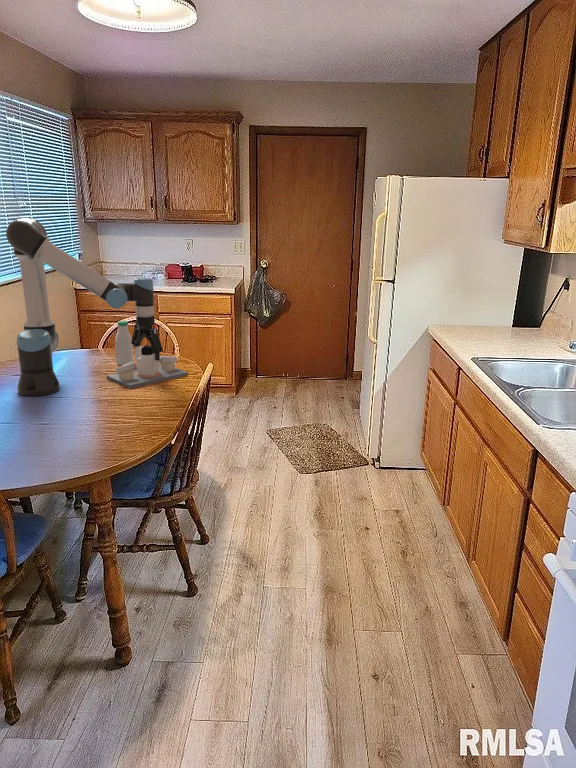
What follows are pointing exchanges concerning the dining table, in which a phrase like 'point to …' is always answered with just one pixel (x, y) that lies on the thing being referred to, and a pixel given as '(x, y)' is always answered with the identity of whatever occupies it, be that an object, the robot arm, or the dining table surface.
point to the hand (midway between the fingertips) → (147, 364)
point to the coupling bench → (134, 380)
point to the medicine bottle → (146, 361)
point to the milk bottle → (123, 344)
